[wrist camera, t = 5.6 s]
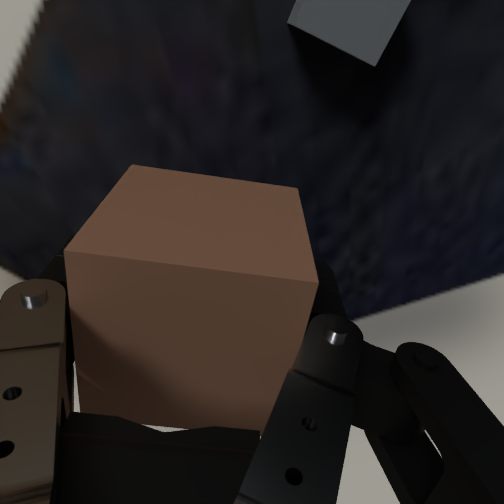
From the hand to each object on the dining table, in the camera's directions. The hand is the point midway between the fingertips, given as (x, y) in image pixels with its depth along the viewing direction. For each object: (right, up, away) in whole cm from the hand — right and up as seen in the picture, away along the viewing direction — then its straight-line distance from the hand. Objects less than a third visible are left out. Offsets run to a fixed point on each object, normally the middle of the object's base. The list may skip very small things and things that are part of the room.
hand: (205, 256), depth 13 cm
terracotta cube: (0, 0, 0) cm, 1 cm away
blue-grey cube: (+7, +16, +12) cm, 21 cm away
